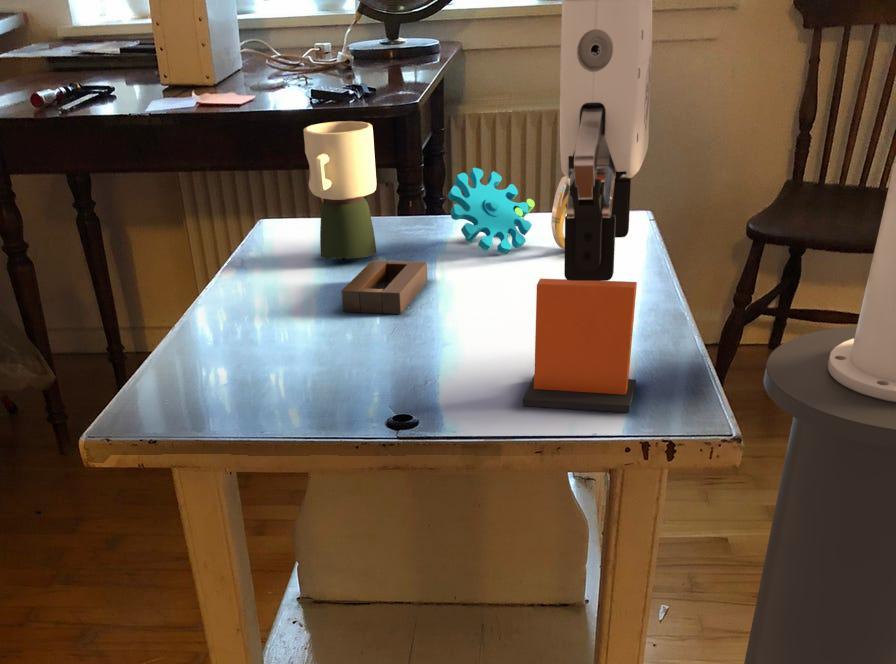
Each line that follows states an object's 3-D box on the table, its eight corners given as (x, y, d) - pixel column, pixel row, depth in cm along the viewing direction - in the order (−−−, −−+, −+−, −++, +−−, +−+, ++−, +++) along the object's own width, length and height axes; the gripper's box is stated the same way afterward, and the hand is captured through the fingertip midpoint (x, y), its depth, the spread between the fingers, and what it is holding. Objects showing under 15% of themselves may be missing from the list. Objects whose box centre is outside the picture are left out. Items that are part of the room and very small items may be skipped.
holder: (427, 281, 99) (426, 261, 98) (400, 314, 92) (399, 293, 91) (373, 279, 101) (372, 259, 100) (343, 311, 93) (341, 290, 92)
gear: (472, 248, 102) (440, 163, 103) (446, 280, 107) (417, 199, 108) (554, 243, 107) (523, 163, 108) (526, 274, 112) (497, 197, 113)
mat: (635, 386, 76) (636, 379, 76) (629, 413, 72) (629, 405, 72) (534, 380, 78) (534, 373, 78) (522, 406, 74) (522, 398, 74)
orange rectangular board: (536, 382, 76) (539, 278, 71) (627, 388, 74) (637, 281, 70) (533, 389, 75) (536, 284, 70) (625, 395, 73) (635, 287, 68)
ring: (582, 241, 108) (585, 162, 103) (605, 246, 106) (610, 166, 101) (540, 256, 104) (543, 175, 100) (564, 261, 103) (567, 179, 98)
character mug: (340, 242, 112) (329, 116, 105) (397, 246, 110) (390, 117, 102) (297, 270, 105) (281, 136, 97) (357, 275, 102) (346, 138, 94)
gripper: (659, -29, 51) (640, 298, 61) (680, -52, 64) (661, 221, 74) (518, -18, 53) (523, 297, 63) (566, -43, 66) (563, 222, 76)
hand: (597, 256), depth 69 cm, fingers open, 9 cm apart
